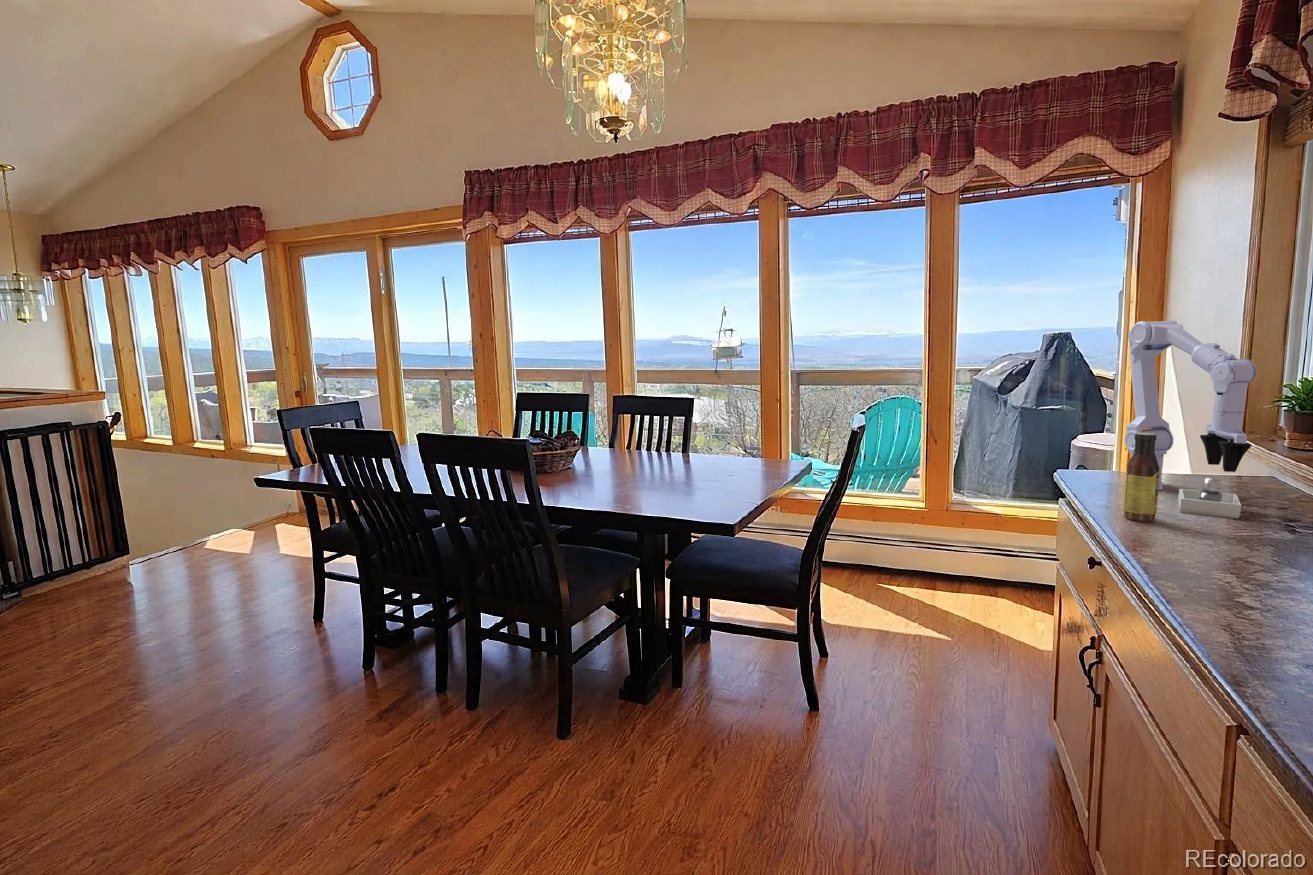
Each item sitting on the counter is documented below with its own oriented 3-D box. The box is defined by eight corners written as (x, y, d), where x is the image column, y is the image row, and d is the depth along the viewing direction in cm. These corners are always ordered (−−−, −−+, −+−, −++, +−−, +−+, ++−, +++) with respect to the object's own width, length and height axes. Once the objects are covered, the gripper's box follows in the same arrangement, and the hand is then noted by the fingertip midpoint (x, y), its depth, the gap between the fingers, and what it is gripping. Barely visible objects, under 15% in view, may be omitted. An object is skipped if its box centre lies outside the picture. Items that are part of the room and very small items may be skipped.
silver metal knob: (1213, 504, 169) (1217, 476, 168) (1224, 509, 165) (1228, 480, 164) (1194, 504, 170) (1198, 476, 168) (1204, 509, 166) (1208, 480, 164)
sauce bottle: (1160, 523, 158) (1170, 436, 154) (1129, 522, 159) (1138, 436, 156) (1146, 515, 164) (1155, 431, 161) (1117, 514, 165) (1125, 431, 162)
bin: (1177, 501, 175) (1179, 488, 174) (1234, 507, 169) (1236, 494, 168) (1179, 511, 166) (1181, 498, 165) (1239, 518, 160) (1241, 505, 159)
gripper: (1194, 406, 172) (1187, 460, 175) (1223, 415, 158) (1216, 474, 161) (1227, 407, 170) (1221, 461, 173) (1261, 416, 157) (1253, 475, 159)
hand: (1221, 467), depth 167 cm, fingers open, 7 cm apart
